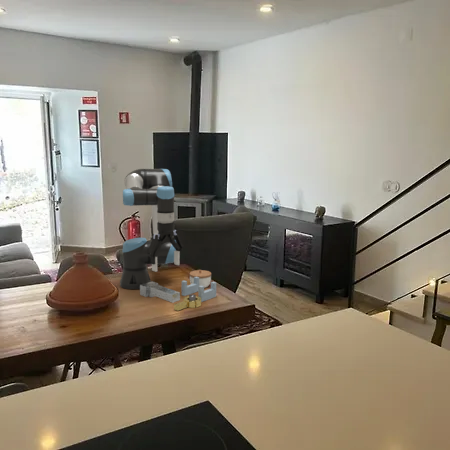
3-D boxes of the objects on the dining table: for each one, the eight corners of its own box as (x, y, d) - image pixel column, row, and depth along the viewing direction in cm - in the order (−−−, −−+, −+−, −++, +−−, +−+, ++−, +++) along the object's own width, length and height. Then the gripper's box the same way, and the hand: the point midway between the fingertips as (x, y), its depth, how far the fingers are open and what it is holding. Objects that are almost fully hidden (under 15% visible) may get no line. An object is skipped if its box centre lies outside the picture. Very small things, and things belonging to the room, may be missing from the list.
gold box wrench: (192, 300, 196) (192, 294, 196) (204, 304, 192) (204, 298, 191) (169, 308, 187) (169, 302, 186) (182, 312, 182) (182, 306, 181)
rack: (180, 297, 204) (180, 280, 203) (194, 292, 211) (194, 276, 210) (203, 305, 194) (203, 287, 193) (217, 299, 201) (218, 283, 200)
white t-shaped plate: (140, 294, 206) (139, 284, 206) (152, 291, 212) (152, 281, 211) (170, 306, 192) (170, 295, 192) (182, 302, 198) (182, 291, 197)
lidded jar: (210, 291, 212) (210, 273, 210) (188, 291, 212) (188, 272, 210) (211, 285, 222) (211, 267, 221) (190, 284, 223) (190, 266, 221)
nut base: (177, 307, 191) (177, 295, 190) (192, 302, 198) (192, 290, 197) (192, 312, 185) (192, 300, 184) (206, 307, 192) (207, 295, 191)
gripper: (149, 226, 183) (150, 275, 187) (191, 219, 202) (191, 263, 206) (138, 224, 187) (139, 272, 192) (179, 217, 206) (179, 260, 210)
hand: (166, 267), depth 199 cm, fingers open, 13 cm apart
